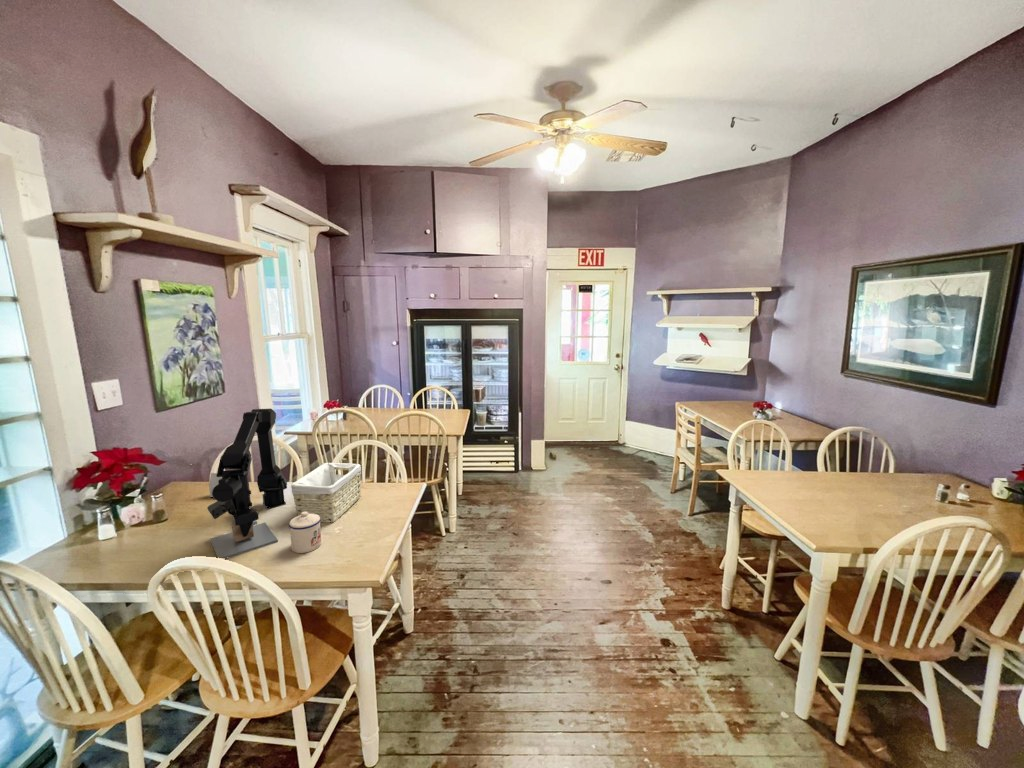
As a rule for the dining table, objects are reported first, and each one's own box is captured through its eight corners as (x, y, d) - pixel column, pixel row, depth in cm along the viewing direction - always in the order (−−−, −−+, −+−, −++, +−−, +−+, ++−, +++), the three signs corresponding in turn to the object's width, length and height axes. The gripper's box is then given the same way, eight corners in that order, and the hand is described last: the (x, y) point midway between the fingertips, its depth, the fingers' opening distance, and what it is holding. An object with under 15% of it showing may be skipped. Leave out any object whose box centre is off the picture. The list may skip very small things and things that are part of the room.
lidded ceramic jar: (317, 552, 129) (314, 518, 127) (286, 555, 128) (283, 520, 126) (328, 533, 141) (326, 501, 139) (300, 535, 140) (297, 503, 138)
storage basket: (333, 525, 147) (331, 486, 144) (291, 523, 148) (288, 484, 146) (364, 497, 170) (362, 463, 168) (327, 495, 172) (325, 461, 170)
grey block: (226, 498, 168) (224, 474, 167) (210, 498, 168) (207, 474, 167) (232, 494, 172) (230, 471, 170) (216, 494, 172) (214, 471, 170)
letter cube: (250, 530, 139) (248, 516, 138) (253, 536, 135) (252, 521, 134) (232, 536, 135) (231, 521, 135) (235, 542, 132) (234, 527, 131)
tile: (265, 524, 147) (265, 522, 147) (277, 541, 135) (277, 539, 135) (210, 540, 136) (210, 538, 136) (219, 561, 125) (218, 558, 124)
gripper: (203, 486, 134) (208, 531, 136) (213, 505, 121) (218, 554, 123) (243, 477, 142) (247, 520, 144) (256, 494, 128) (261, 540, 131)
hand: (243, 533), depth 135 cm, fingers closed on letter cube, 5 cm apart
